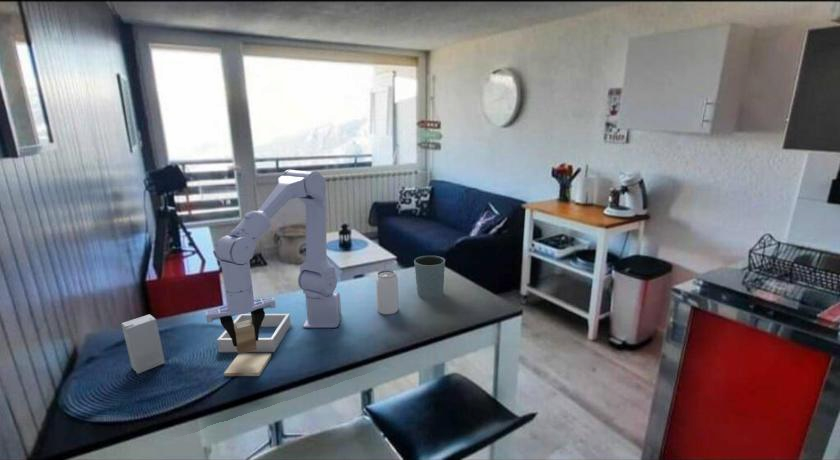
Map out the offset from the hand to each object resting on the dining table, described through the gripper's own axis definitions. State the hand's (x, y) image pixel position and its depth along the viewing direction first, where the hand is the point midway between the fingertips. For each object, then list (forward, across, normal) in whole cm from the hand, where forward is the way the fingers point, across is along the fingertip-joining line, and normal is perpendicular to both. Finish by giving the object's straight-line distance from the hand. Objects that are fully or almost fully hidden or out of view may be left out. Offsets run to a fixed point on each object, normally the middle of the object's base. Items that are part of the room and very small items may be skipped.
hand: (245, 341), depth 97 cm
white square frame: (+6, -4, -13) cm, 15 cm away
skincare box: (+7, +20, -12) cm, 25 cm away
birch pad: (+6, 0, 0) cm, 6 cm away
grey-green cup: (+7, -59, -12) cm, 60 cm away
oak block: (+2, 0, 0) cm, 2 cm away
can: (+7, -42, -9) cm, 43 cm away
